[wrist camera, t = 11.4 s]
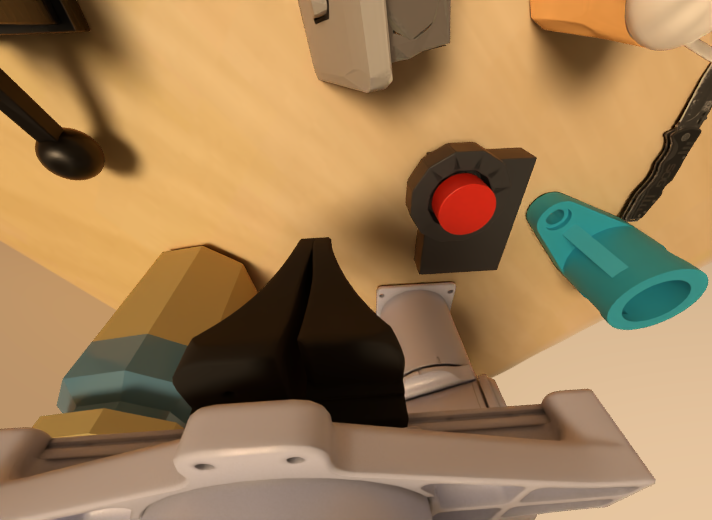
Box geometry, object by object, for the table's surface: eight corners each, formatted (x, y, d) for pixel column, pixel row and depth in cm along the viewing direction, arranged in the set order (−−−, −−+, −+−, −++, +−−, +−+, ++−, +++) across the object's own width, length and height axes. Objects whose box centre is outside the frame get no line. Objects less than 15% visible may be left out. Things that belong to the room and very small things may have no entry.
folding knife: (735, 24, 17) (769, 22, 17) (716, 26, 18) (748, 24, 18) (624, 223, 24) (648, 221, 24) (614, 217, 25) (637, 216, 25)
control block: (486, 255, 27) (506, 284, 24) (395, 260, 27) (402, 290, 24) (526, 129, 20) (561, 146, 17) (403, 135, 20) (416, 154, 17)
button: (478, 220, 21) (488, 233, 19) (428, 223, 20) (434, 236, 19) (491, 171, 18) (504, 182, 17) (435, 174, 18) (443, 185, 17)
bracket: (575, 281, 30) (630, 338, 24) (503, 228, 25) (550, 284, 20) (641, 237, 27) (721, 291, 21) (572, 167, 22) (651, 213, 16)
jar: (133, 269, 26) (-33, 463, 14) (204, 221, 24) (72, 411, 12) (213, 322, 31) (138, 498, 20) (278, 288, 29) (238, 468, 17)
